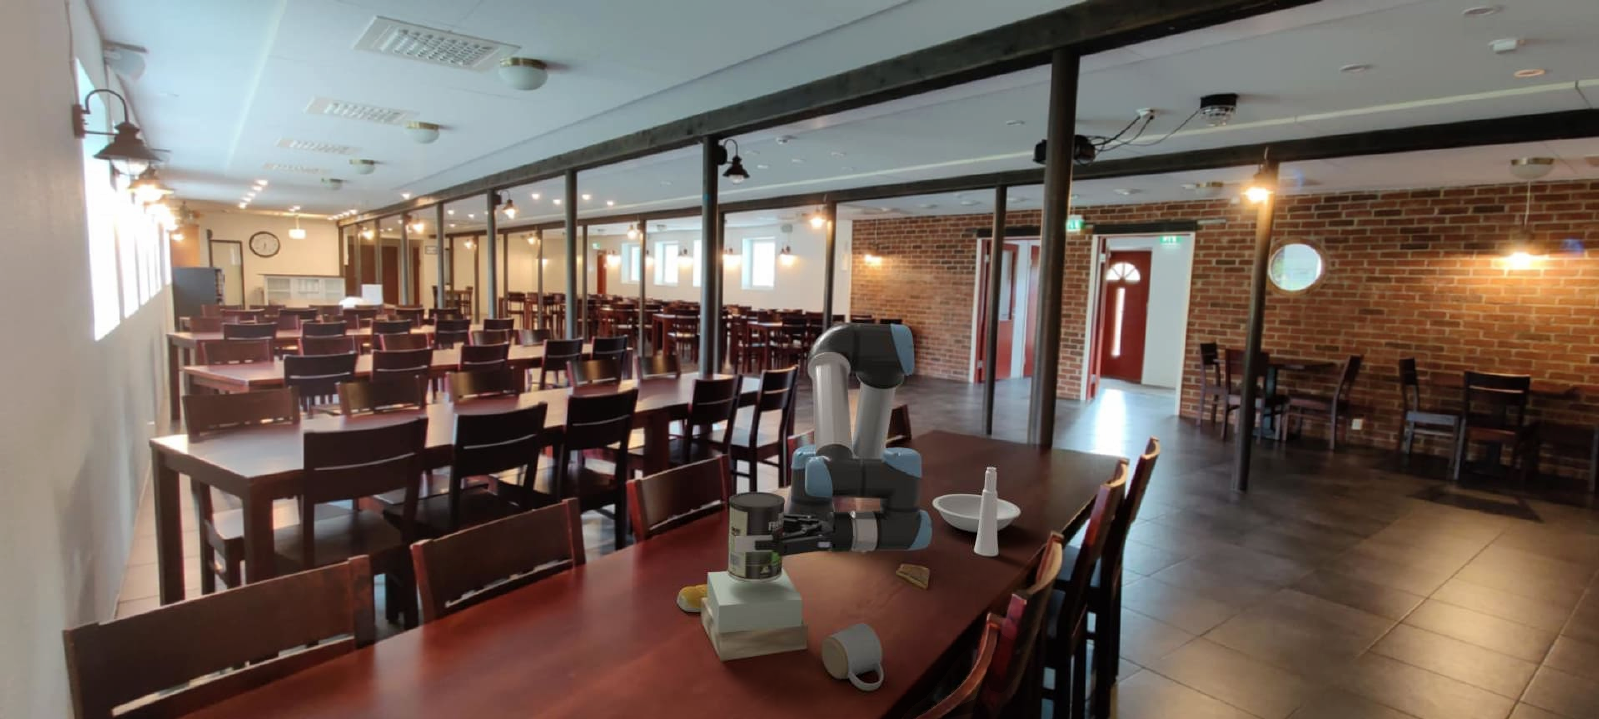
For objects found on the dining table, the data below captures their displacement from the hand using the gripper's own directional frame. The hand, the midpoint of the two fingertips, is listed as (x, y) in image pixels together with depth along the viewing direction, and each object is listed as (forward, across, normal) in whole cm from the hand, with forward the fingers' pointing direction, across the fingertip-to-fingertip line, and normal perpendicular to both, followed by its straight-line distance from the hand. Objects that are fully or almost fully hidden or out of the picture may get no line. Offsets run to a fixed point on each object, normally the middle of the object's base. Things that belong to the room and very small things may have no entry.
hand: (732, 534), depth 133 cm
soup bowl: (-74, +56, -20) cm, 95 cm away
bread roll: (+5, +14, -20) cm, 25 cm away
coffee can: (-4, 0, -8) cm, 9 cm away
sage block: (-4, 0, -15) cm, 16 cm away
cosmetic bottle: (-69, +38, -20) cm, 81 cm away
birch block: (-4, 0, -20) cm, 21 cm away
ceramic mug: (-20, -16, -20) cm, 33 cm away
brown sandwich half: (-46, +24, -20) cm, 56 cm away
